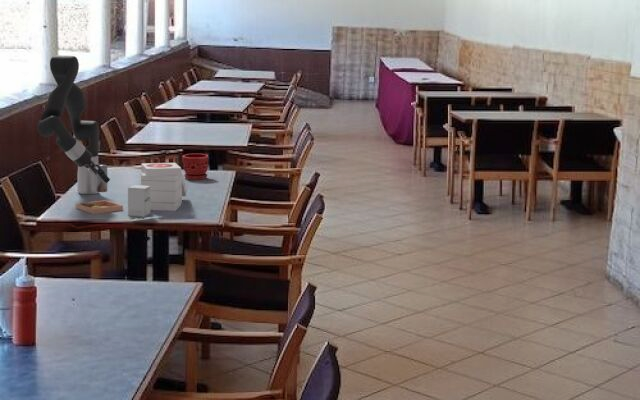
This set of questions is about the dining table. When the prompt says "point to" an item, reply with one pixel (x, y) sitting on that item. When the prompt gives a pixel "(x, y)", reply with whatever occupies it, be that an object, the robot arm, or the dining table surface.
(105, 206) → the tray
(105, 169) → the disc
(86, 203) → the walnut block
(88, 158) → the robot arm
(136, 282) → the dining table surface
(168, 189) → the pizza boxes
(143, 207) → the supplement box
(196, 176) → the plant pot
